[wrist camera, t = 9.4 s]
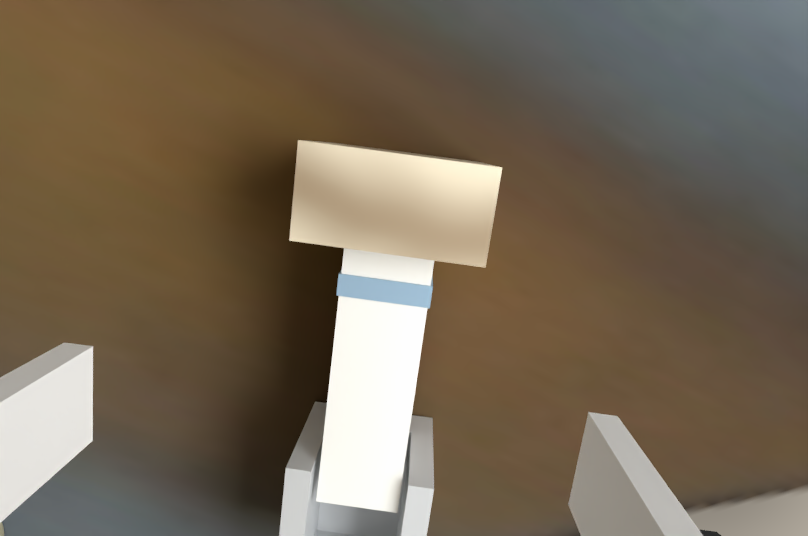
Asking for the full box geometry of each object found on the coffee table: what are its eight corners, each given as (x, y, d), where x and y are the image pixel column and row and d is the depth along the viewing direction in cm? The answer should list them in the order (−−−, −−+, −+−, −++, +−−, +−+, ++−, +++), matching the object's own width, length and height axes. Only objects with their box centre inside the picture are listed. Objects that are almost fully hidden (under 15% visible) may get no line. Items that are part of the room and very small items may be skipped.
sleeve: (315, 401, 33) (285, 468, 26) (432, 418, 33) (434, 489, 26) (302, 519, 34) (272, 610, 28) (414, 535, 34) (411, 631, 28)
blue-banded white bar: (359, 187, 28) (347, 194, 24) (441, 199, 28) (444, 207, 24) (328, 455, 31) (313, 502, 27) (402, 466, 31) (399, 514, 27)
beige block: (332, 142, 30) (298, 139, 22) (481, 162, 29) (502, 167, 21) (325, 216, 30) (289, 240, 22) (470, 236, 30) (485, 267, 22)
